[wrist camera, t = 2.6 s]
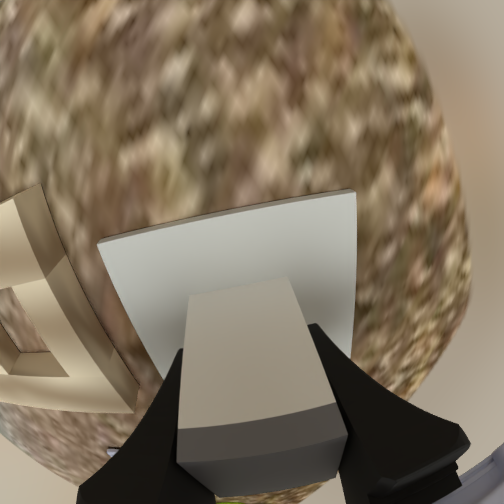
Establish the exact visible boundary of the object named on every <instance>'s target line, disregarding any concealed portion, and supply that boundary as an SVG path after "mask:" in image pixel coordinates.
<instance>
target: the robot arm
mask: <svg viewBox="0 0 504 504" xmlns="http://www.w3.org/2000/svg"><path fill="white" fill-rule="evenodd" d="M307 327H308V329H309V332H310V334H311V337H312V340H313V342H314V345H315V347H316V350H317V352H318V355H319V358H320V360H321V363H322V366H323V368H324V371H325V373H326V376H327V379H328V381H329V384H330V387H331V389H332V392H333V395H334V397H335V400H336V403H337V406H338V408H339V411H340V414H341V417H342V419H343V422H344V425H345V428H346V430H347V433H348V436H347V440H346V444H345V447H344V451H343V455H342V458H341V461H340V465H339V468H338V470H339V474H340V479H341V483H342V487H343V492H344V496H345V500H346V504H504V443H503V444H502V445H501V446H499V447H498V448H497V449H496V450H495V451H494V452H493V453H492V454H491V455H490V456H488V457H487V458H486V459H484V460H483V461H482V462H480V463H479V464H478V465H476V466H474V467H473V468H471V469H470V470H468V471H467V472H465V473H464V474H462V475H461V476H459V477H458V475H457V473H456V470H457V469H458V465H457V463H456V460H457V459H458V458H459V457H460V456H462V455H463V454H464V453H465V452H466V451H467V450H468V449H469V447H470V444H471V443H470V441H469V440H468V437H467V436H466V434H465V433H464V431H463V430H462V428H461V427H460V426H459V424H456V423H453V422H451V421H448V420H445V419H442V418H440V417H437V416H435V415H433V414H430V413H428V412H426V411H424V410H422V409H420V408H418V407H416V406H414V405H412V404H411V403H409V402H407V401H405V400H403V399H402V398H400V397H398V396H397V395H395V394H394V393H392V392H390V391H389V390H387V389H386V388H385V387H383V386H382V385H380V384H379V383H378V382H376V381H375V380H374V379H372V378H371V377H370V376H369V375H367V374H366V373H365V372H364V371H363V370H362V369H360V368H359V367H358V366H357V365H356V364H355V363H354V362H353V361H351V360H350V359H349V358H348V357H347V356H346V355H345V354H344V353H343V352H342V351H341V350H340V349H339V348H338V347H337V346H336V345H335V343H334V342H333V341H332V340H331V339H330V338H329V337H328V336H327V335H326V333H325V332H324V331H323V330H322V328H321V327H320V326H319V325H318V324H317V323H313V324H309V325H307ZM183 349H184V348H179V350H178V351H177V353H176V356H175V358H174V360H173V362H172V364H171V367H170V369H169V371H168V373H167V375H166V377H165V379H164V381H163V383H162V385H161V387H160V389H159V391H158V393H157V395H156V397H155V398H154V400H153V402H152V404H151V405H150V407H149V409H148V410H147V412H146V414H145V415H144V417H143V418H142V420H141V422H140V423H139V424H138V426H137V427H136V429H135V430H134V432H133V433H132V434H131V435H130V437H129V438H128V439H127V441H126V442H125V443H124V444H123V446H122V447H121V448H120V449H107V454H108V455H110V456H111V457H112V458H111V459H110V460H109V461H108V462H107V463H106V464H105V465H104V466H103V467H102V468H101V469H100V470H98V471H97V472H96V473H95V474H94V475H93V476H91V477H90V478H89V479H88V480H86V481H85V482H84V483H83V484H81V485H80V486H79V489H78V494H77V501H76V504H216V501H215V495H214V493H213V492H212V491H210V490H209V489H208V488H206V487H205V486H204V485H203V484H201V483H200V482H199V481H198V480H197V479H195V478H194V477H193V476H192V475H191V474H189V473H188V472H187V471H186V470H185V469H184V468H183V467H181V466H180V465H179V464H178V463H177V436H178V416H179V399H180V385H181V372H182V360H183Z"/></svg>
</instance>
